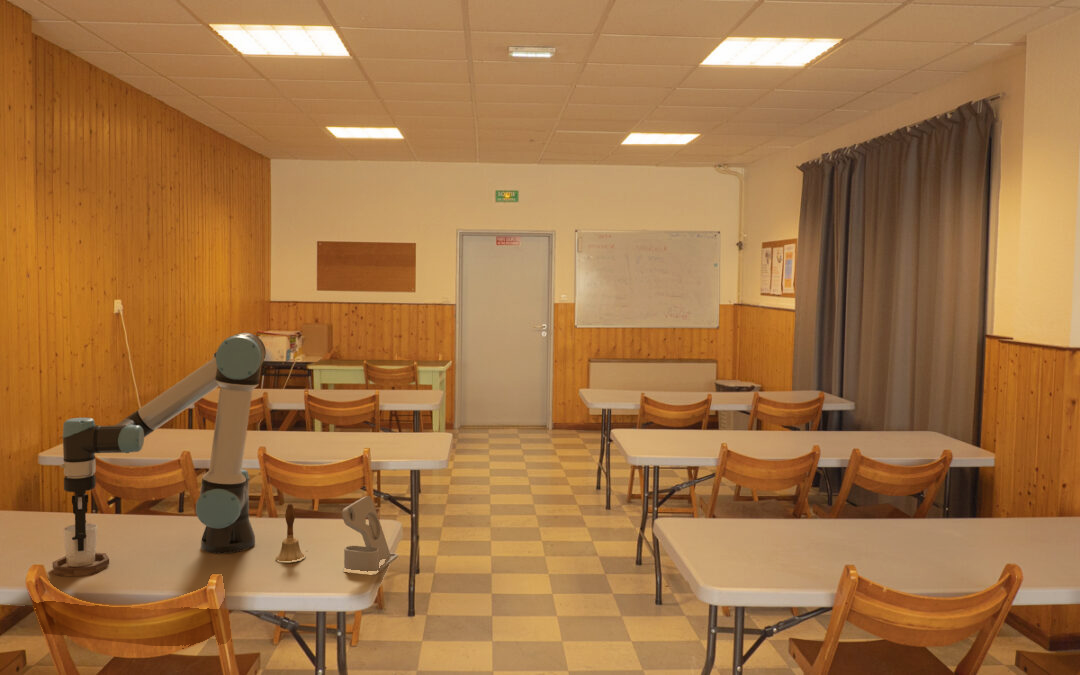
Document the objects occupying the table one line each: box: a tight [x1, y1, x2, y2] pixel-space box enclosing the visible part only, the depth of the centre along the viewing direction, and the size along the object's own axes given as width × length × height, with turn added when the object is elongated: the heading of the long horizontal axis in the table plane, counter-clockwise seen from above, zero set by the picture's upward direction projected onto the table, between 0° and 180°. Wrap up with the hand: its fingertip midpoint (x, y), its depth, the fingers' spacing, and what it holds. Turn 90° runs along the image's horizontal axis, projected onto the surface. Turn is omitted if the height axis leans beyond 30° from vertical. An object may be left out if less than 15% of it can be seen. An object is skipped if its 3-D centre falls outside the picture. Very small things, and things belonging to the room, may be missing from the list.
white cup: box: [63, 522, 98, 567], centre depth 224 cm, size 8×8×10 cm
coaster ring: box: [52, 552, 110, 577], centre depth 224 cm, size 13×13×2 cm
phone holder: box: [341, 495, 399, 572], centre depth 232 cm, size 17×10×18 cm, turn 167°
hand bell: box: [275, 503, 305, 561], centre depth 234 cm, size 8×8×16 cm
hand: (81, 556), depth 224 cm, fingers open, 8 cm apart
